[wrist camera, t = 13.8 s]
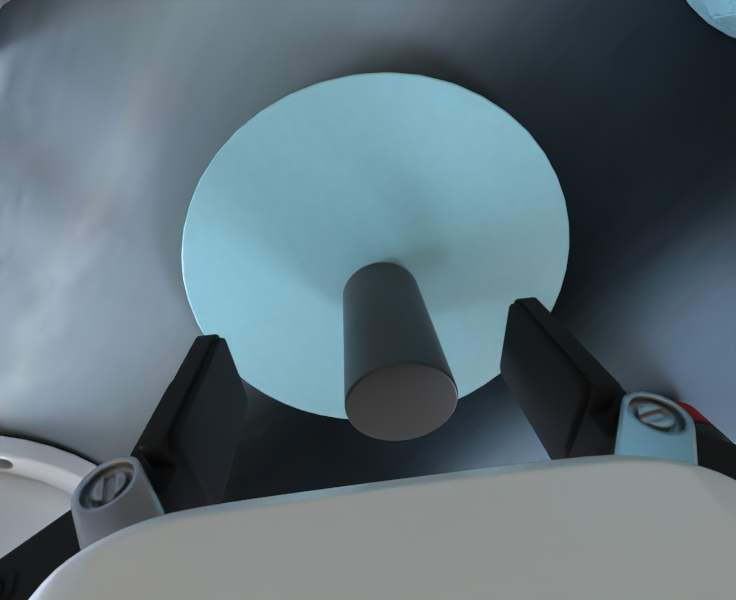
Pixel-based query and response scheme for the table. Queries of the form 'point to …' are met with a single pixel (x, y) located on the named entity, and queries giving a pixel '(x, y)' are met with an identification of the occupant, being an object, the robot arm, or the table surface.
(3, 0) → the egg carton
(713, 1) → the pot
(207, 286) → the pot lid
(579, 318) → the table surface
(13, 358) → the table surface
